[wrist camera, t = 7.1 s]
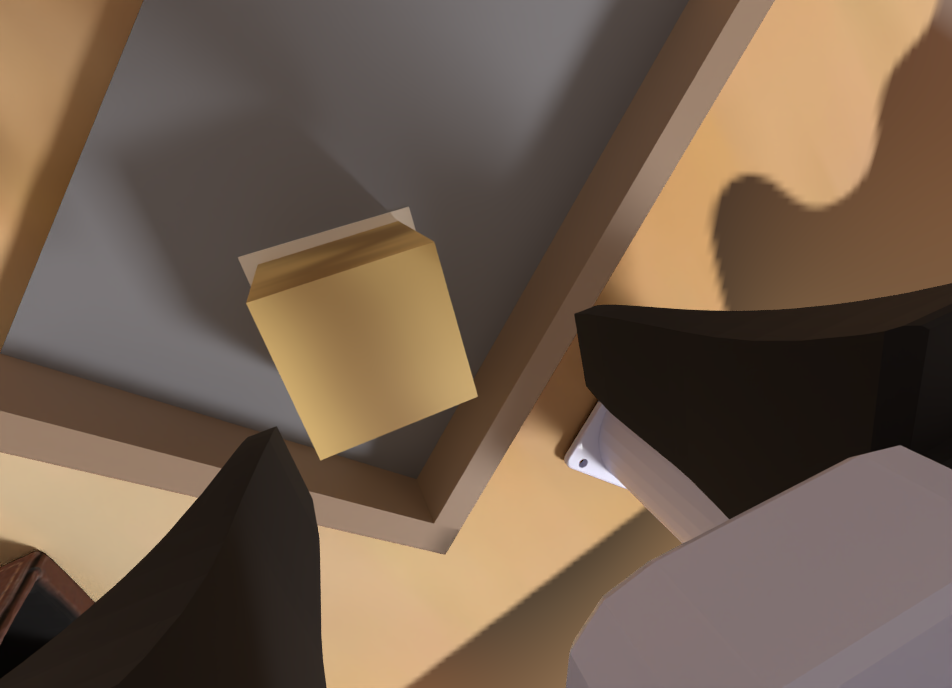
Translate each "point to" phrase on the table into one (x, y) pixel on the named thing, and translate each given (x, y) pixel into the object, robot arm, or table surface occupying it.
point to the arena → (348, 223)
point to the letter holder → (35, 607)
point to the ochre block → (362, 335)
